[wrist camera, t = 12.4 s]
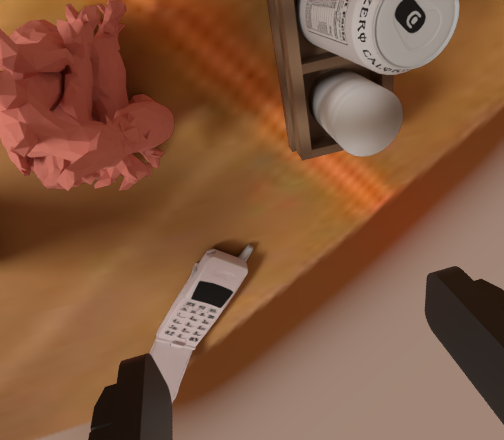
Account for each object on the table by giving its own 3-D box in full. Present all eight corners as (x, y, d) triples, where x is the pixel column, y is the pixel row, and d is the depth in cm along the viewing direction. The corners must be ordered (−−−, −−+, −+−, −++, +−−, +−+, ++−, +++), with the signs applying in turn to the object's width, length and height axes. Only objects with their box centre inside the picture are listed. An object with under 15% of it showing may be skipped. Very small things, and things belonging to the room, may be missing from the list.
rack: (379, 124, 41) (426, 158, 33) (289, 146, 41) (315, 186, 33) (374, -202, 28) (451, -275, 20) (240, -172, 28) (264, -234, 20)
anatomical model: (45, 185, 39) (-108, 298, 20) (-4, 15, 33) (-281, -39, 14) (190, 172, 40) (170, 271, 21) (169, 5, 34) (114, -59, 15)
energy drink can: (328, 60, 36) (409, 101, 23) (279, 15, 33) (340, 34, 20) (374, 1, 34) (491, 10, 21) (326, -52, 31) (426, -78, 18)
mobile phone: (128, 399, 50) (218, 260, 40) (132, 361, 55) (214, 229, 45) (171, 407, 52) (266, 277, 43) (171, 370, 57) (257, 245, 48)
